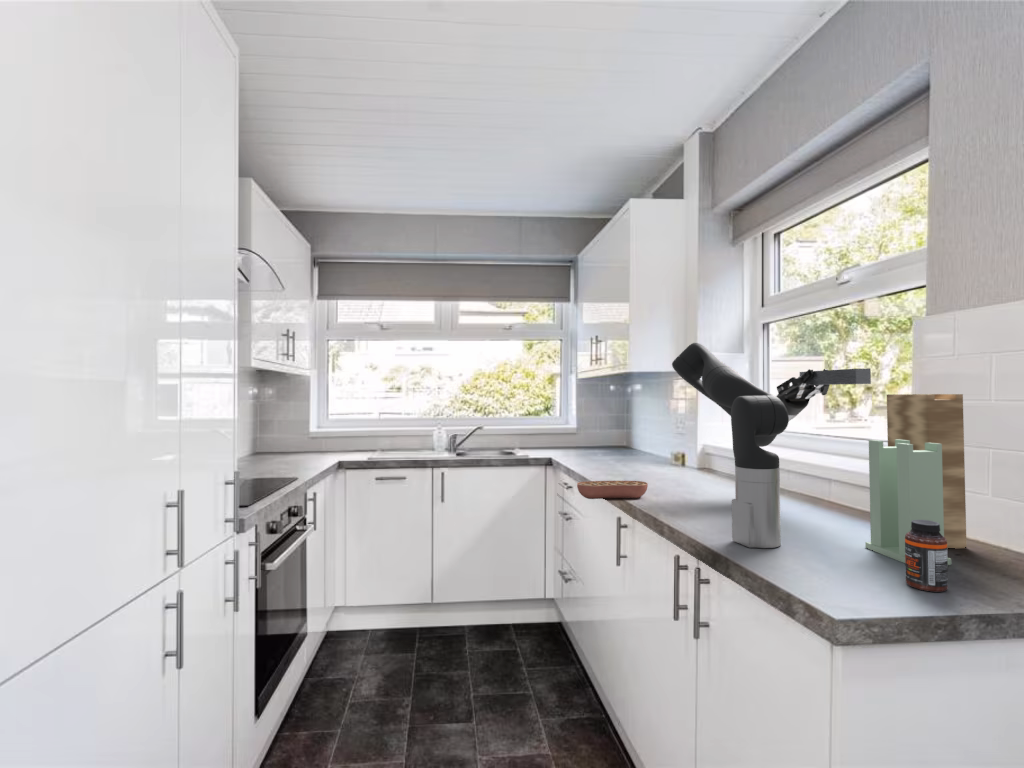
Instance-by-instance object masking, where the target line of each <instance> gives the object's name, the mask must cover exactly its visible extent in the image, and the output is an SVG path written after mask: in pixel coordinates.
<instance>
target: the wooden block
mask: <svg viewBox="0 0 1024 768" xmlns="http://www.w3.org/2000/svg"><path fill="white" fill-rule="evenodd" d="M886 419H887V421H886V423H887V424H886V425H887V428H886V429H887V447H890V446H895V439H900V440H909V441H910V444H913V450H925V443H938V444H942V472H943V514H944V537H945V538H946V540H947V550H949V549H948V548H955V549H966V548H965V547H967V546H968V545H967V515H966V513H967V512H966V511H967V510H966V509H967V507H966V506H967V505H966V473H965V470H966V469H965V426H964V394H963V393H961V394H960V393H927V394H926V393H924V394H923V393H915V394H912V393H911V394H909V393H908V394H900V393H899V394H893V393H892V394H886Z"/></svg>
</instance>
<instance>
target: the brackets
mask: <svg viewBox="0 0 1024 768" xmlns="http://www.w3.org/2000/svg"><path fill="white" fill-rule="evenodd" d="M868 475H869V476H868V477H869V513H870V516H869V517H870V518H869V519H870V521H869V522H870V541H868V542H867V541H865V546H864V547H865V549H867V548H868V550H871V551H872V550H873V552H874V553H875V552H876V553H878V554H880V555H883V556H885V557H888V558H891V559H893V560H896V561H899V562H900V563H903V564H905V535H906V534H907V533H908V532H910V531H911V529H912V528H911V521H912V520H929V521H934V522H937V523H939V524H940V531H939V532H940V534H941V535H942V536H944V514H943V472H942V444H938V443H925V450H913V444H910V441H909V440H900V439H895V446H890V447H888V446H884V441H883V440H878V439H869V440H868ZM951 565H952V558H950V557H948V566H951Z"/></svg>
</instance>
